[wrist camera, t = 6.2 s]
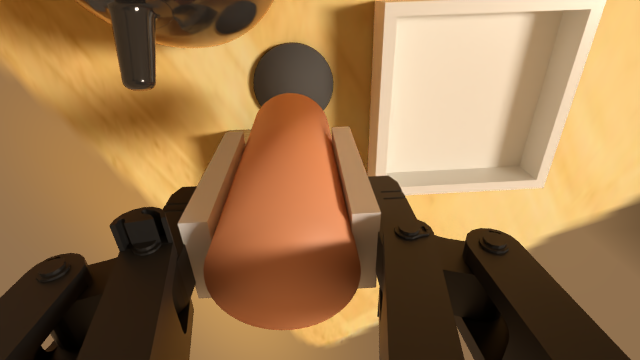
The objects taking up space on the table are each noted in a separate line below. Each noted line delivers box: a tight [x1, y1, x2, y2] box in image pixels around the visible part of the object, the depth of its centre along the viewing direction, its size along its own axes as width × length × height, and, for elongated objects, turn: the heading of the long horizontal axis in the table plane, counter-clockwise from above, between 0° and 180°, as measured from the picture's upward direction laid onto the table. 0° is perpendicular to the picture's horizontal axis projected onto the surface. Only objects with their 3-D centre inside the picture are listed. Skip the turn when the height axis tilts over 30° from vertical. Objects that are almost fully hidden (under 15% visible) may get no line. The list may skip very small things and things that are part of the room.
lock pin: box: [204, 93, 361, 330], centre depth 14 cm, size 4×4×11 cm
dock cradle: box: [367, 0, 606, 195], centre depth 26 cm, size 14×14×3 cm
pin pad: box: [254, 43, 333, 110], centre depth 26 cm, size 6×6×1 cm
